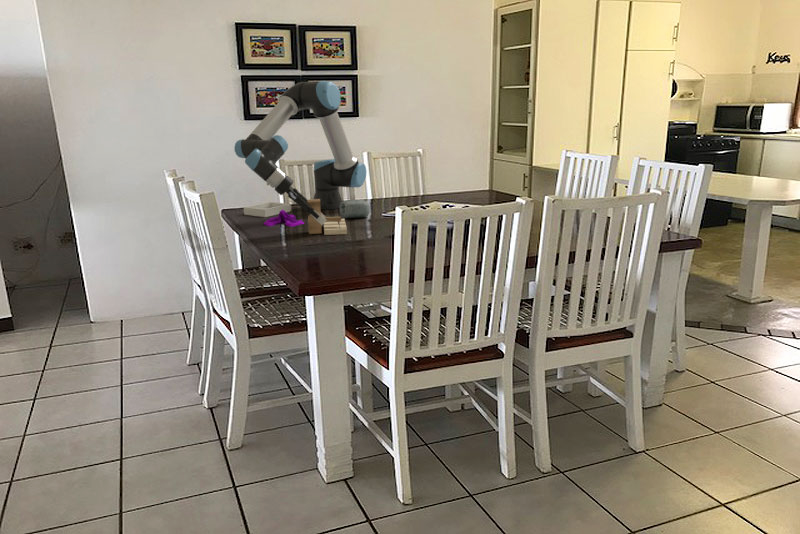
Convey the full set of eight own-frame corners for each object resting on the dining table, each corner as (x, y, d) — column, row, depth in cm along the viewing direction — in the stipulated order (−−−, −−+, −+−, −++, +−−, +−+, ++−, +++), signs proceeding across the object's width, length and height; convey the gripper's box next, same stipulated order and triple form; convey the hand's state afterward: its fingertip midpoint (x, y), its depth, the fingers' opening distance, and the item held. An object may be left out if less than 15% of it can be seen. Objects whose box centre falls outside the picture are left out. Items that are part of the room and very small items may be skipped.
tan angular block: (309, 231, 256) (307, 199, 253) (341, 229, 258) (340, 198, 254) (309, 233, 251) (307, 201, 248) (341, 232, 253) (340, 200, 249)
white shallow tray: (270, 208, 310) (269, 201, 309) (291, 211, 302) (290, 204, 301) (244, 214, 296) (243, 207, 295) (265, 217, 288) (264, 209, 287)
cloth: (303, 227, 267) (302, 213, 265) (259, 229, 266) (258, 214, 264) (308, 217, 288) (308, 204, 286) (268, 218, 287) (267, 205, 286)
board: (323, 224, 270) (323, 219, 270) (344, 223, 271) (344, 218, 271) (324, 234, 249) (324, 229, 249) (347, 233, 250) (346, 228, 250)
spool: (337, 213, 276) (342, 192, 278) (337, 219, 285) (341, 199, 288) (368, 220, 277) (372, 199, 279) (366, 226, 286) (370, 205, 289)
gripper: (275, 185, 256) (317, 223, 262) (272, 192, 239) (318, 232, 245) (287, 172, 255) (330, 210, 262) (285, 177, 238) (331, 218, 244)
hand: (324, 221), depth 253 cm, fingers closed on tan angular block, 5 cm apart
